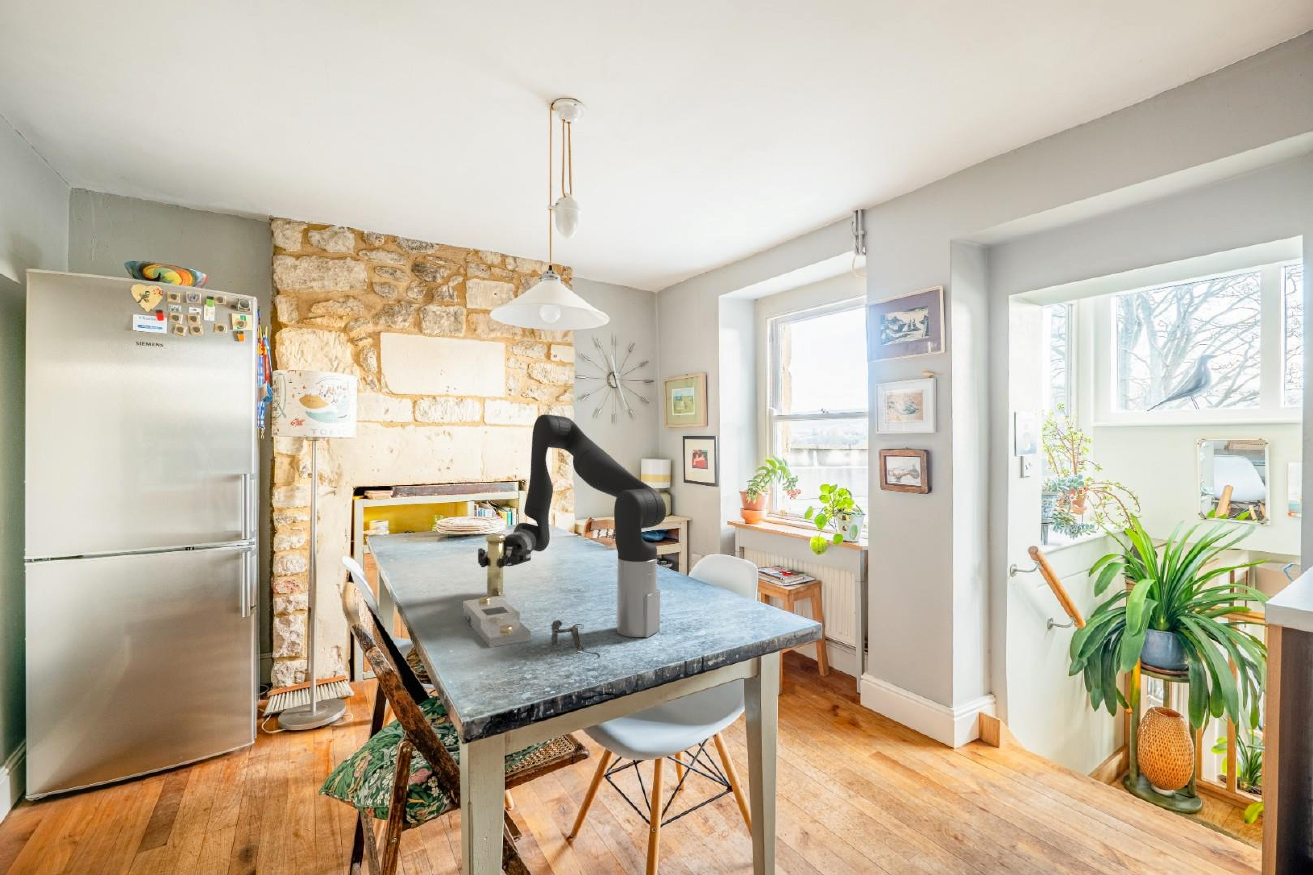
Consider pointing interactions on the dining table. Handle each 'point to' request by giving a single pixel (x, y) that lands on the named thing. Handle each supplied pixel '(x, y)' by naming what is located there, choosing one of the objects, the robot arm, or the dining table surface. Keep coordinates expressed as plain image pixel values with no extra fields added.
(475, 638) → the dining table surface
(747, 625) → the dining table surface
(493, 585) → the pin
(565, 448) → the robot arm
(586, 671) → the dining table surface
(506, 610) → the gray block
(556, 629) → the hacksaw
